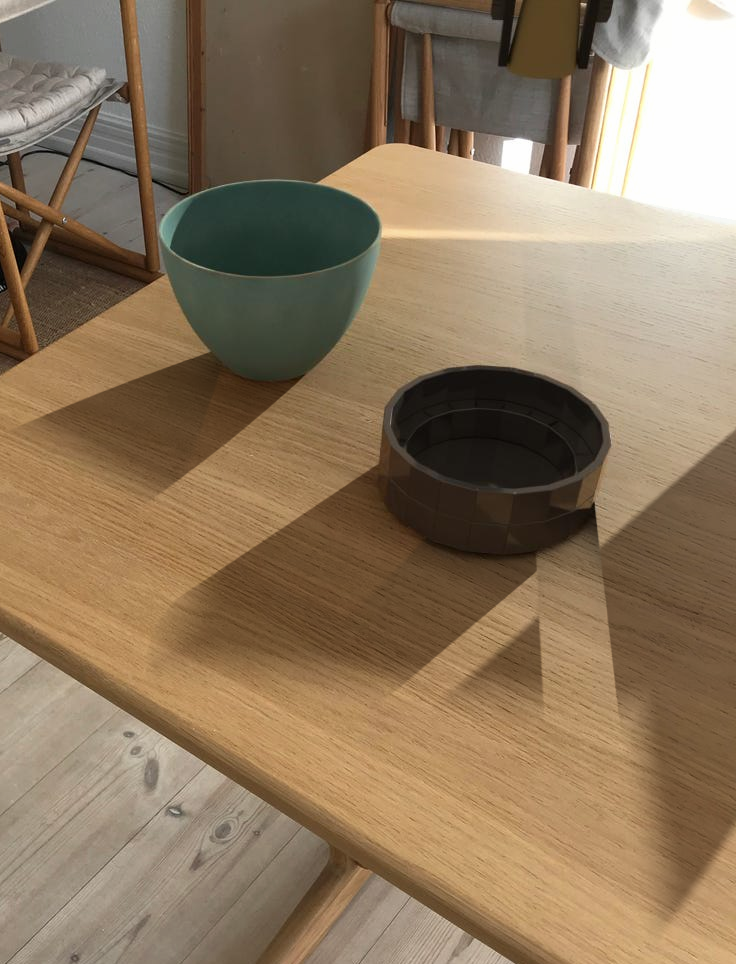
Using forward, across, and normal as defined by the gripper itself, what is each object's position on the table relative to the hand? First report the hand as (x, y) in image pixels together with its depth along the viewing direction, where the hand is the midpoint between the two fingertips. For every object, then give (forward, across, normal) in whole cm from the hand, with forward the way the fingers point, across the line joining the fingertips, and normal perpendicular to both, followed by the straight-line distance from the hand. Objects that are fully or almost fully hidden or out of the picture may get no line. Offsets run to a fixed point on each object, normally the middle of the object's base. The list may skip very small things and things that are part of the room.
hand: (541, 62), depth 90 cm
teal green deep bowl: (+19, -21, -19) cm, 34 cm away
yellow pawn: (+1, 0, 0) cm, 1 cm away
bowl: (+19, -2, -36) cm, 41 cm away
